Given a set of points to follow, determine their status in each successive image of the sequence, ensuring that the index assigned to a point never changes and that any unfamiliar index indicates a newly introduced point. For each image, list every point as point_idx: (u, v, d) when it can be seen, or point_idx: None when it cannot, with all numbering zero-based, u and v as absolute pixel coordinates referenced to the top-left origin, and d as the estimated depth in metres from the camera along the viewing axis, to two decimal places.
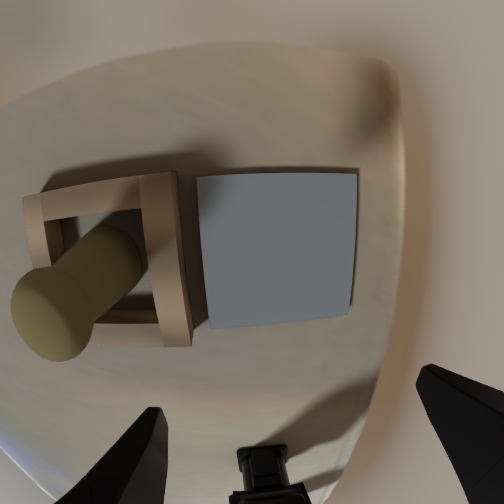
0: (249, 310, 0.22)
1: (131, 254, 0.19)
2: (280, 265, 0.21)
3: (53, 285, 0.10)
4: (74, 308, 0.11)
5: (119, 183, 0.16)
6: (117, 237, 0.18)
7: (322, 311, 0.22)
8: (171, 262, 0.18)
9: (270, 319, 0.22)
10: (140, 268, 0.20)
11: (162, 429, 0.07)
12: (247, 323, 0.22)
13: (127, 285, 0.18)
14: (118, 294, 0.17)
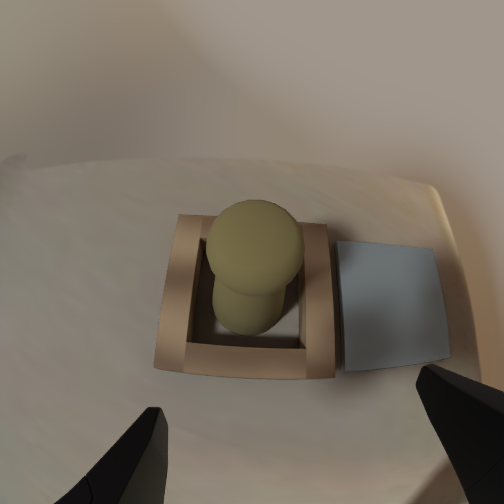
0: (380, 352, 0.20)
1: None
2: (399, 310, 0.22)
3: None
4: (301, 231, 0.14)
5: None
6: None
7: (432, 354, 0.20)
8: (326, 289, 0.21)
9: (396, 361, 0.20)
10: (282, 308, 0.22)
11: (162, 429, 0.07)
12: (377, 365, 0.20)
13: (281, 305, 0.20)
14: (281, 300, 0.19)
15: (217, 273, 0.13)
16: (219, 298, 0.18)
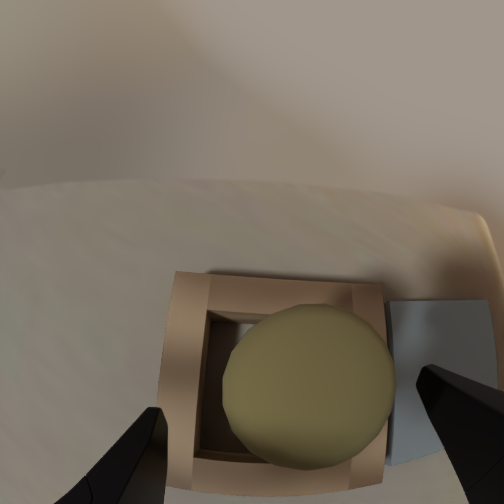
0: (430, 436, 0.12)
1: None
2: None
3: (363, 320, 0.08)
4: None
5: (330, 287, 0.16)
6: None
7: None
8: None
9: None
10: None
11: (162, 429, 0.07)
12: (426, 452, 0.12)
13: None
14: None
15: (245, 445, 0.06)
16: None
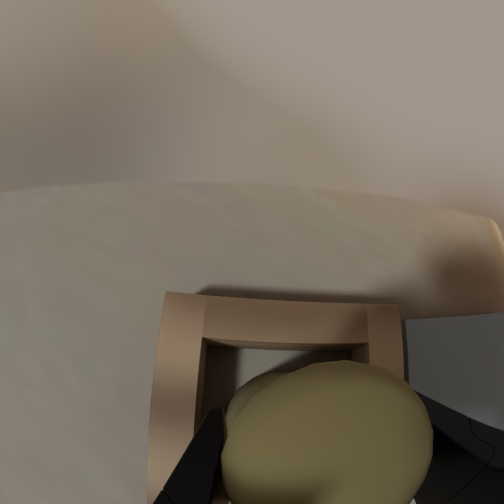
0: None
1: None
2: (468, 405, 0.12)
3: (399, 378, 0.05)
4: None
5: (343, 309, 0.14)
6: None
7: None
8: None
9: None
10: None
11: (225, 429, 0.07)
12: None
13: None
14: None
15: None
16: None
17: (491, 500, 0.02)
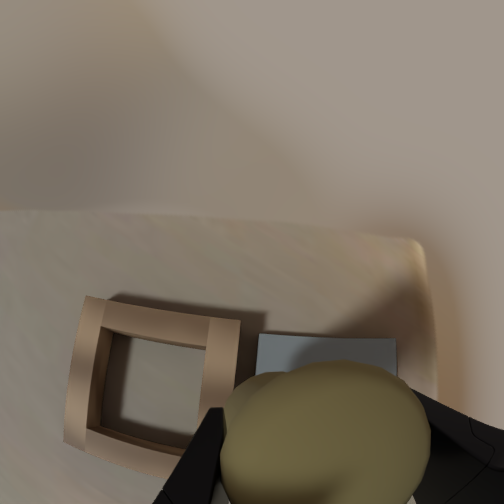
0: None
1: None
2: None
3: (397, 378, 0.05)
4: None
5: (190, 319, 0.19)
6: None
7: None
8: (224, 402, 0.17)
9: None
10: None
11: (225, 429, 0.07)
12: None
13: None
14: None
15: None
16: None
17: (491, 500, 0.02)
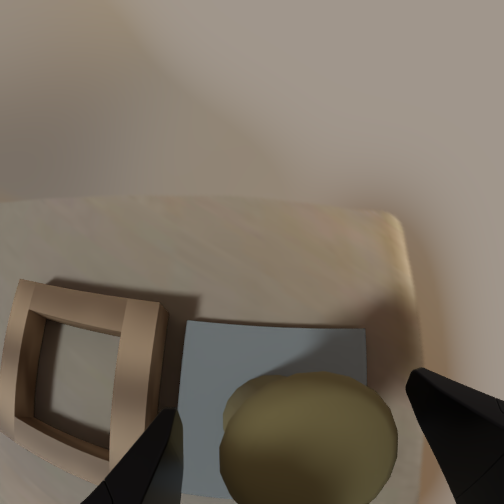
0: None
1: None
2: None
3: (370, 388, 0.06)
4: None
5: (107, 301, 0.16)
6: None
7: None
8: (138, 399, 0.13)
9: None
10: None
11: (178, 430, 0.07)
12: (222, 495, 0.12)
13: None
14: None
15: None
16: None
17: None
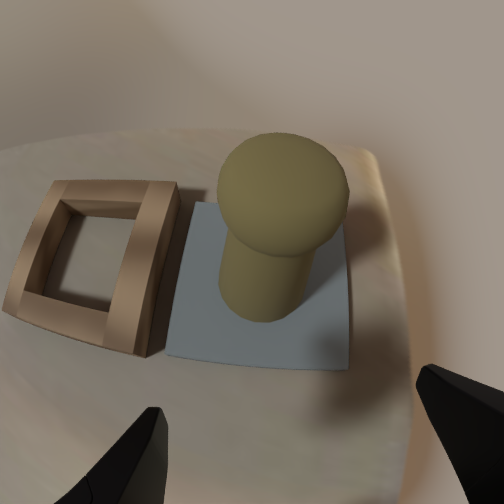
0: (218, 339, 0.17)
1: None
2: None
3: None
4: None
5: (133, 183, 0.20)
6: None
7: (312, 359, 0.16)
8: (148, 249, 0.18)
9: (242, 357, 0.16)
10: None
11: (162, 429, 0.07)
12: (211, 357, 0.16)
13: None
14: (307, 276, 0.15)
15: (231, 218, 0.10)
16: (229, 268, 0.14)
17: None
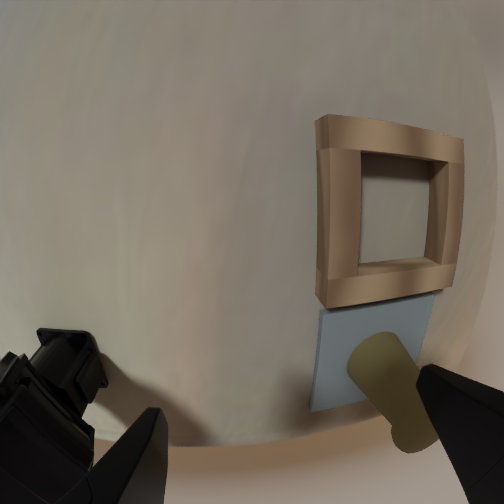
0: (335, 345, 0.22)
1: None
2: None
3: None
4: None
5: (456, 247, 0.19)
6: None
7: (319, 395, 0.23)
8: (405, 290, 0.19)
9: (323, 362, 0.22)
10: None
11: (162, 429, 0.07)
12: (322, 345, 0.22)
13: None
14: None
15: (415, 419, 0.13)
16: (388, 372, 0.18)
17: None
